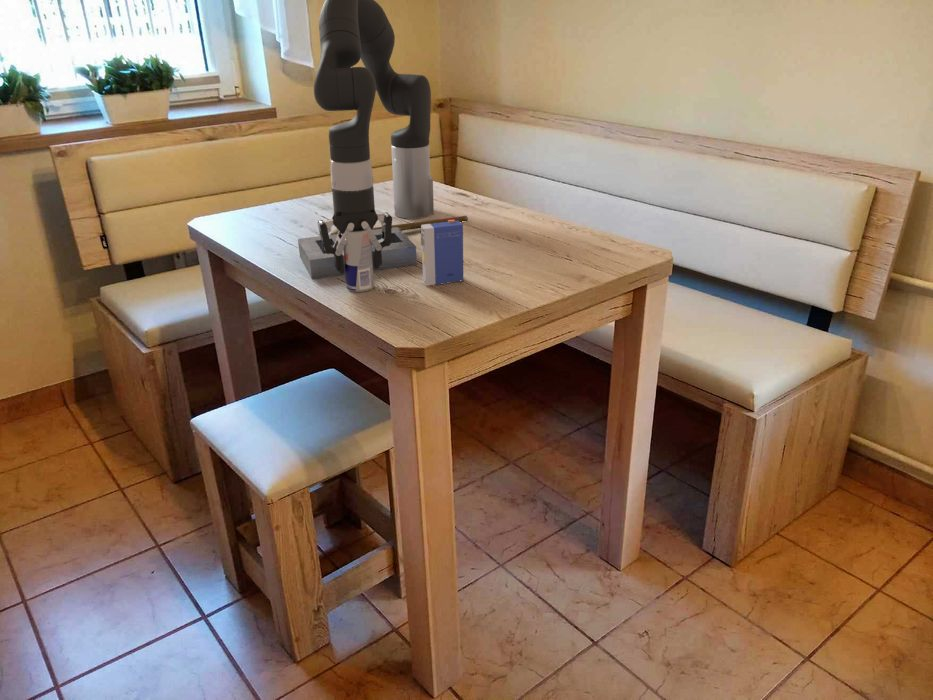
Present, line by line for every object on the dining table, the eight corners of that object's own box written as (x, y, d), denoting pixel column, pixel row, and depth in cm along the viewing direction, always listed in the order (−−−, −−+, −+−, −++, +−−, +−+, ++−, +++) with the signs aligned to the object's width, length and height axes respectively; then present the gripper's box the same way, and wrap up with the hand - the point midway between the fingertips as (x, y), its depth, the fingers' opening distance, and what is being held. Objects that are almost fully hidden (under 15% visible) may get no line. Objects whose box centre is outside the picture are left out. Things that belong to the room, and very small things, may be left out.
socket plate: (398, 244, 168) (397, 226, 167) (416, 264, 157) (416, 246, 155) (299, 256, 161) (297, 238, 160) (311, 278, 150) (309, 260, 148)
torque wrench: (460, 224, 186) (470, 231, 183) (328, 242, 169) (336, 250, 166) (462, 206, 184) (472, 213, 181) (327, 222, 167) (336, 230, 164)
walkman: (458, 276, 151) (458, 218, 145) (463, 281, 148) (463, 222, 143) (421, 281, 148) (419, 223, 143) (425, 286, 146) (423, 227, 140)
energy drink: (347, 282, 148) (342, 224, 142) (374, 281, 148) (370, 223, 143) (345, 293, 143) (340, 233, 138) (373, 292, 143) (369, 232, 138)
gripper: (385, 175, 142) (389, 259, 149) (309, 182, 137) (317, 268, 145) (396, 184, 135) (400, 271, 143) (316, 192, 131) (325, 282, 139)
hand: (358, 269), depth 144 cm, fingers open, 6 cm apart
